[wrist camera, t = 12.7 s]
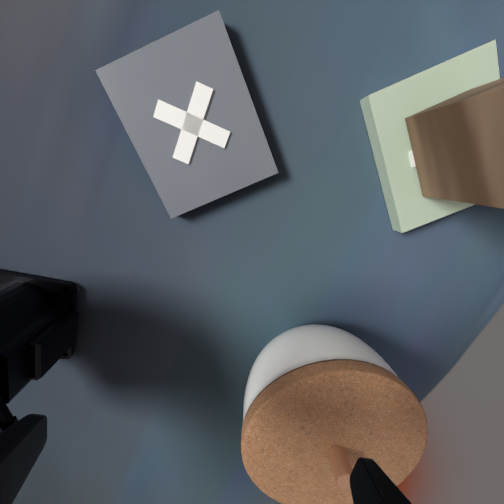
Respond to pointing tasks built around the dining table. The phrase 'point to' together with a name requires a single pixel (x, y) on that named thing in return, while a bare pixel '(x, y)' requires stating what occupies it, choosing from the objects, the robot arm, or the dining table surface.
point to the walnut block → (462, 146)
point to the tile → (190, 115)
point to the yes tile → (397, 139)
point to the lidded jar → (325, 416)
